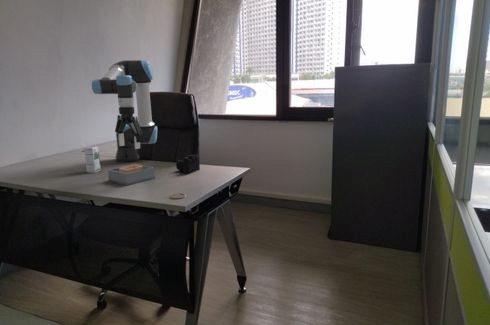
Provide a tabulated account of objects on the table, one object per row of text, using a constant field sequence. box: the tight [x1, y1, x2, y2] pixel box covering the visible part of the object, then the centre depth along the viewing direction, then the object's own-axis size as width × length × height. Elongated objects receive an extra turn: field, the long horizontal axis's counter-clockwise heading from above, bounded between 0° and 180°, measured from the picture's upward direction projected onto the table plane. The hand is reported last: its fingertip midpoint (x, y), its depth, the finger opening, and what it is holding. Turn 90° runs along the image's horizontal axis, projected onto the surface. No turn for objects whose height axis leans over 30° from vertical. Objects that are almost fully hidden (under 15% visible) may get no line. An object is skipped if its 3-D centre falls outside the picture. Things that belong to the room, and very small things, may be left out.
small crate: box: [118, 164, 143, 173], centre depth 192 cm, size 10×7×6 cm
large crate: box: [107, 163, 156, 186], centre depth 192 cm, size 18×16×6 cm
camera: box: [175, 154, 201, 175], centre depth 210 cm, size 14×11×10 cm
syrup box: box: [83, 145, 102, 174], centre depth 210 cm, size 6×6×14 cm
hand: (129, 147), depth 189 cm, fingers open, 13 cm apart
